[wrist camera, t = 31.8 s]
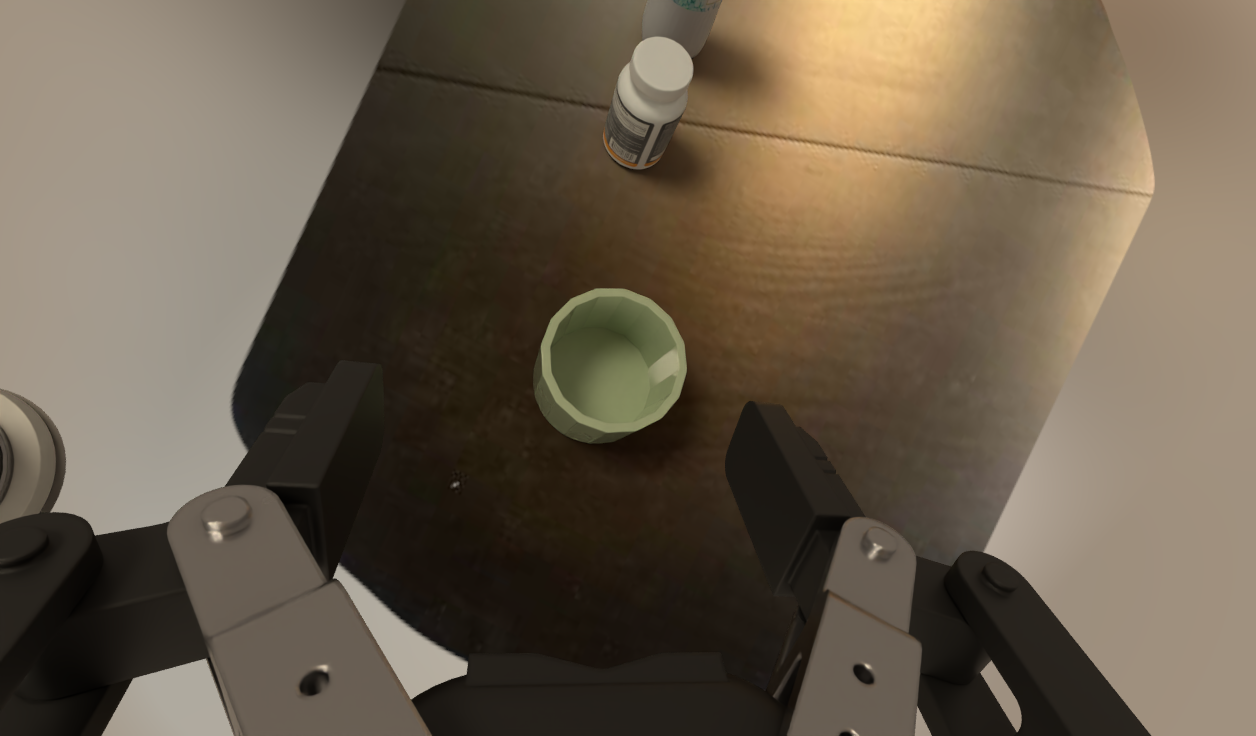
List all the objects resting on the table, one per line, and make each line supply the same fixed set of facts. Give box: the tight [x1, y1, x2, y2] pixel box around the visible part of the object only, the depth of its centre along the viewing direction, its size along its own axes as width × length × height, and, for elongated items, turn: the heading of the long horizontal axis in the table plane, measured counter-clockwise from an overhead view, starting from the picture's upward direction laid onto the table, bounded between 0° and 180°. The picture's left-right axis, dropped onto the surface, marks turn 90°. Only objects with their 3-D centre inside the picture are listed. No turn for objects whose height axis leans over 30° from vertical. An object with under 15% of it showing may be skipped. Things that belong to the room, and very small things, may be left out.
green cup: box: [533, 288, 687, 443], centre depth 41 cm, size 10×10×8 cm
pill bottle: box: [603, 37, 693, 169], centre depth 45 cm, size 6×6×10 cm
